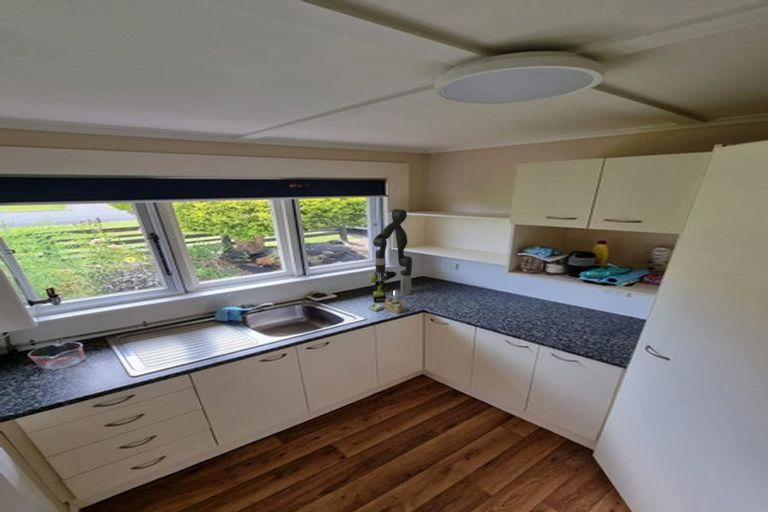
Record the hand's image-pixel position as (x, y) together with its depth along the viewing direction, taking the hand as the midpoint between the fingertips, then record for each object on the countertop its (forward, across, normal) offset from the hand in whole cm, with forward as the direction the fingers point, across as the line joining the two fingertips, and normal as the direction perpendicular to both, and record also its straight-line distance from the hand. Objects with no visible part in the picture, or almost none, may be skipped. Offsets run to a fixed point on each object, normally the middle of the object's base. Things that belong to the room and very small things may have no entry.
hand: (380, 285), depth 239 cm
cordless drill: (+18, +6, -10) cm, 21 cm away
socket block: (+17, -14, -1) cm, 22 cm away
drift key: (+17, -7, 0) cm, 19 cm away
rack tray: (+17, 0, +7) cm, 19 cm away
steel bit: (+17, -14, -1) cm, 22 cm away
